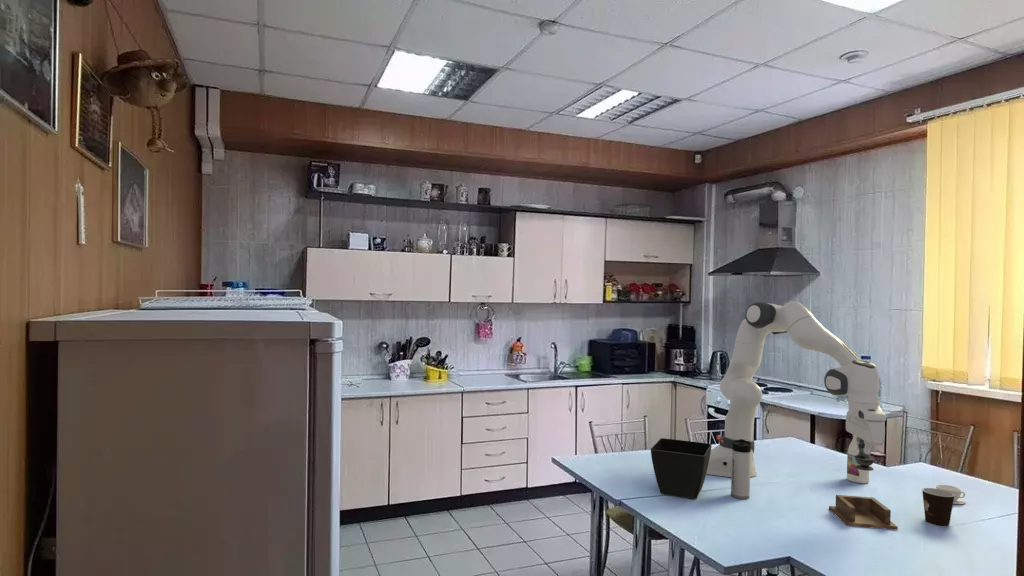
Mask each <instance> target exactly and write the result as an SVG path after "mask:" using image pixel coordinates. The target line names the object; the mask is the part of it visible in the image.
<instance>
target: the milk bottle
mask: <svg viewBox="0 0 1024 576" xmlns="http://www.w3.org/2000/svg"><path fill="white" fill-rule="evenodd" d="M858 454H859V450H858V449H857V443H856V440H855V435H853V434H852V440H851V442H850V444H849V446H848V447H847V457H846V459H847V461H846V479H847V480H848V481H850V482H852V483H857V484H869V482H870V471H866V470H860V469H857V468H855V466H857V465H860V464H858V463H857V462H856V460H855V457H854V456H855V455H858Z"/></svg>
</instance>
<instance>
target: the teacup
mask: <svg viewBox="0 0 1024 576" xmlns="http://www.w3.org/2000/svg"><path fill="white" fill-rule="evenodd" d="M935 487H936V488H935V489H941V490H945V491H948V492H951V493H953V494H954V501H953V505H963V504H966V501H965V500H963V498H965V496H966V492H965V491H962V489H961V488H959V487H956V486H953V485H948V484H937V485H936V486H935ZM962 494H963V495H962Z"/></svg>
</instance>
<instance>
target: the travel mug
mask: <svg viewBox="0 0 1024 576" xmlns="http://www.w3.org/2000/svg"><path fill="white" fill-rule="evenodd" d="M750 462H751V443H750V442H748V441H745V440H744V439H740V440H734V441H733V448H732V475H731V477H730V478H731V479H730V483H731V484H730V485H731V486H730V496H731V497H732V498H734V499H737V500H748V499H750V496H751V495H750V490H751V485H750V484H751V477H750Z"/></svg>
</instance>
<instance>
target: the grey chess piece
mask: <svg viewBox="0 0 1024 576" xmlns="http://www.w3.org/2000/svg"><path fill="white" fill-rule="evenodd" d="M858 446H859V454H858V455H855V456H854V457H855V460H856V462H857V463H858V464H860V465H857V466H855V468H857V469H860V470H866V471H869V472H870V471H874V470H875V469H874V467H872V465H873V464H874V462H875V461H874V460H875V457H873V456H871V454H865V453H864V452H863V448H864V447H865V443H864V440H862V439H861V438H859V445H858Z"/></svg>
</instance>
